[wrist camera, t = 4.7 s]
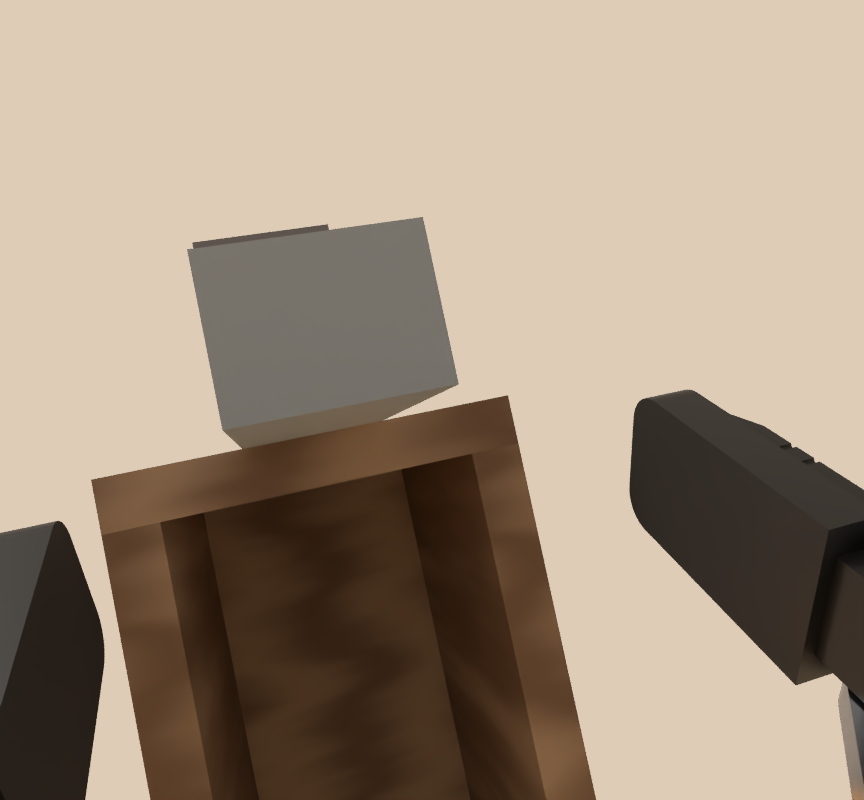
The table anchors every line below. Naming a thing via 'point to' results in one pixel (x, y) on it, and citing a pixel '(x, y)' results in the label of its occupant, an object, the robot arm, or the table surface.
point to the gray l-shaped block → (320, 328)
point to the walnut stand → (345, 618)
